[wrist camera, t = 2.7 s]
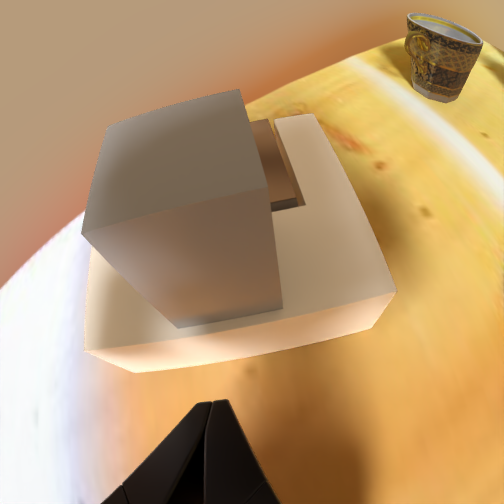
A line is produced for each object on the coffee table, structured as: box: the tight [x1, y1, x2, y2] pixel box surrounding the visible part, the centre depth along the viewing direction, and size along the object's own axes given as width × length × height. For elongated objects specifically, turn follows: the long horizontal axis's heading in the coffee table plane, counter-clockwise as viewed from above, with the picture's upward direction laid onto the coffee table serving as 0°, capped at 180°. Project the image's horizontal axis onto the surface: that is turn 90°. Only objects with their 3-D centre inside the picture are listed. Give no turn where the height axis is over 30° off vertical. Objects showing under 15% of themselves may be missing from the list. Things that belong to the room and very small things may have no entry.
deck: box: [84, 113, 397, 373], centre depth 20 cm, size 14×16×6 cm
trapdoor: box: [250, 119, 299, 212], centre depth 20 cm, size 9×9×1 cm
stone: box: [81, 89, 283, 329], centre depth 12 cm, size 5×5×8 cm
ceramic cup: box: [405, 13, 483, 103], centre depth 28 cm, size 13×10×10 cm
